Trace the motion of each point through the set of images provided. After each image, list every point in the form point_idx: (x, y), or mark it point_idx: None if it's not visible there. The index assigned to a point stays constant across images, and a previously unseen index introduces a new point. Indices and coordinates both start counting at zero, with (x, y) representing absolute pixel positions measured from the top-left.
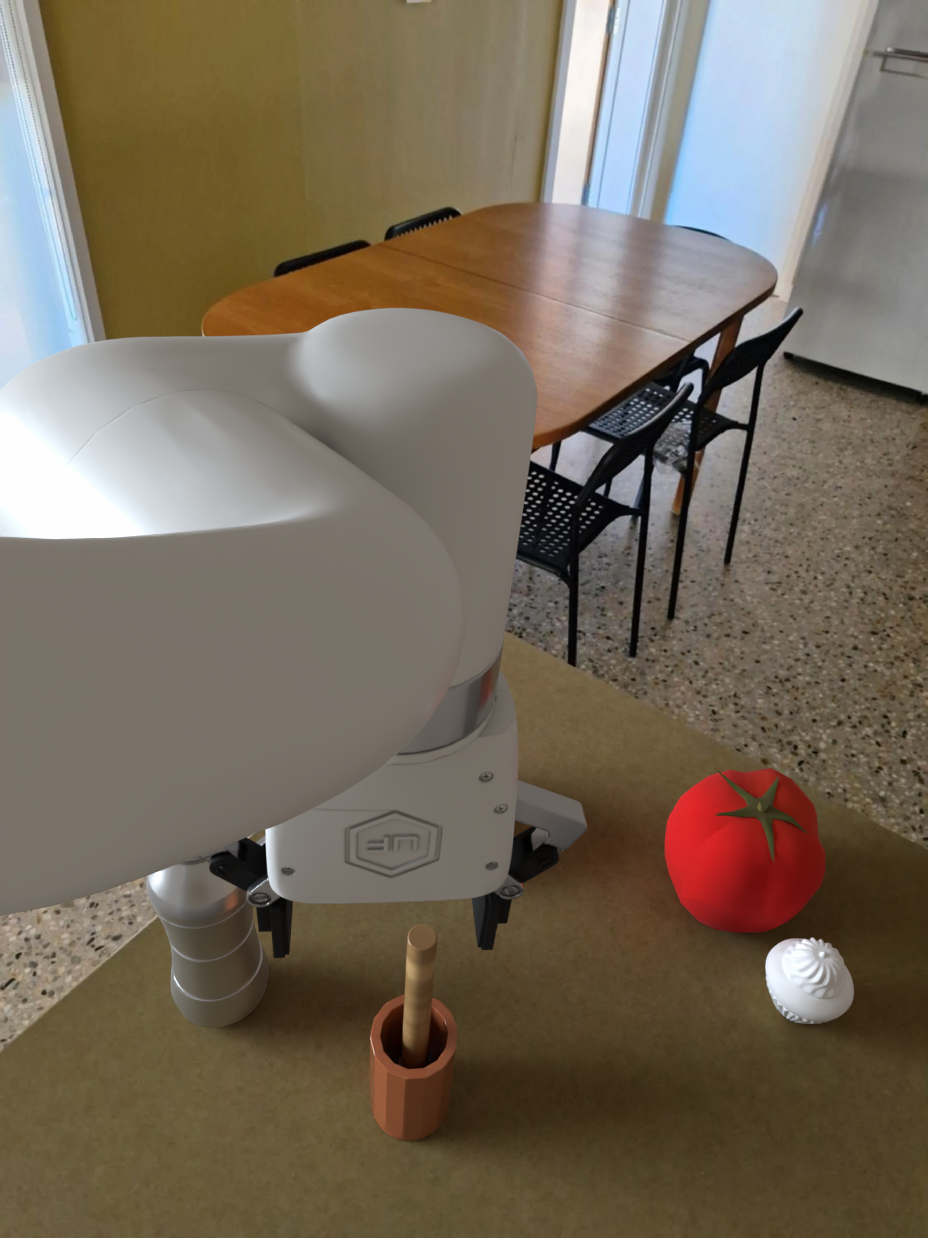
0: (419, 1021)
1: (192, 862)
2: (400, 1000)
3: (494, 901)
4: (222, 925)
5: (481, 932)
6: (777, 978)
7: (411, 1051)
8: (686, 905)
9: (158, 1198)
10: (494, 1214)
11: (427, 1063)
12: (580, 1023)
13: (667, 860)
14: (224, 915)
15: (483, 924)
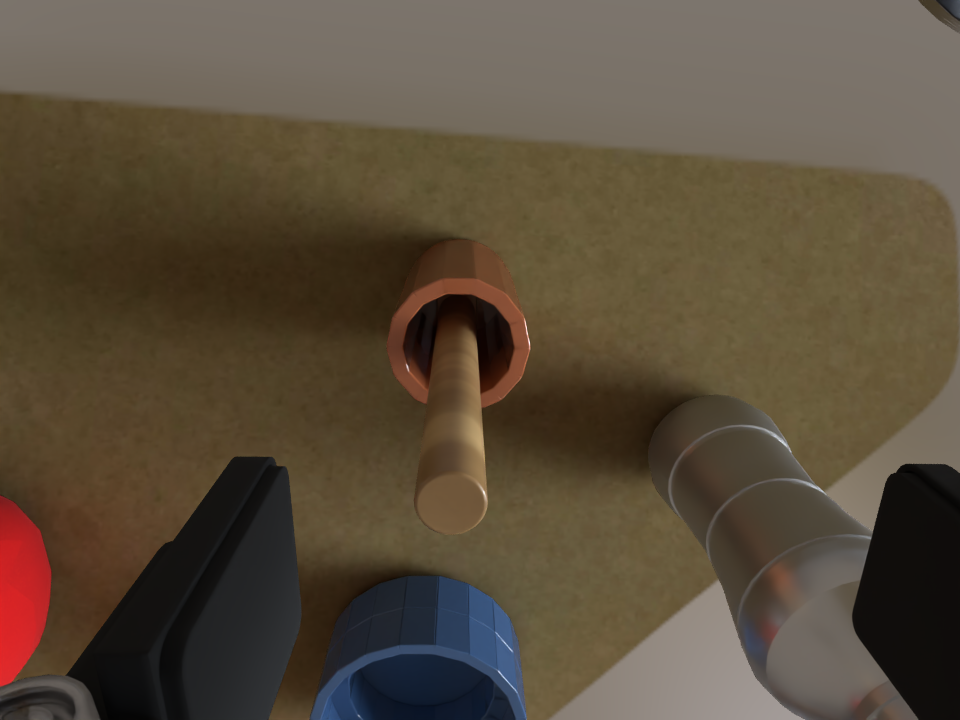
0: (452, 356)
1: None
2: None
3: (128, 669)
4: (794, 537)
5: (251, 517)
6: None
7: (463, 325)
8: (20, 528)
9: (782, 197)
10: (354, 140)
11: (434, 330)
12: (215, 373)
13: (40, 598)
14: (804, 556)
15: (231, 549)
